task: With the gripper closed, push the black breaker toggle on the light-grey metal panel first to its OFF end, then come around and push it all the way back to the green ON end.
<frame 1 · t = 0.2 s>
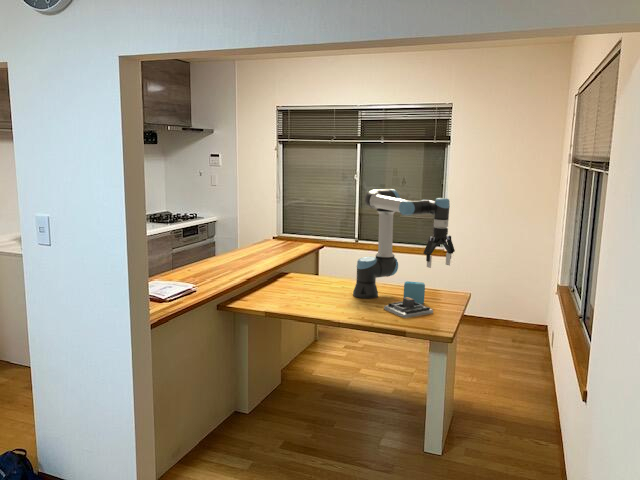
hand: (438, 266, 287), 27 cm above the table, fingers open, 13 cm apart
breaker panel: (408, 311, 296), on the table
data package: (413, 302, 314), on the table
breaker toggle: (408, 302, 296), point 5 cm above the table, slide at 0.0 cm
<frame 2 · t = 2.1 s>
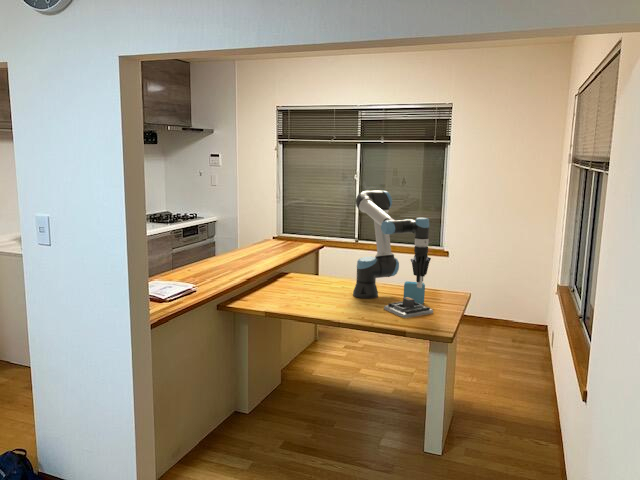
hand: (419, 287, 297), 13 cm above the table, fingers closed
nothing on the table moved.
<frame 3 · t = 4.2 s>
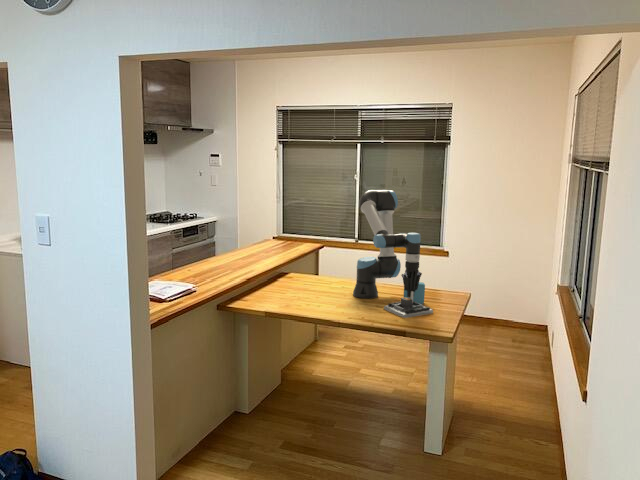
hand: (410, 302, 296), 5 cm above the table, fingers closed
breaker toggle: (406, 303, 295), point 5 cm above the table, slide at -1.5 cm, touching gripper
everything else where it was.
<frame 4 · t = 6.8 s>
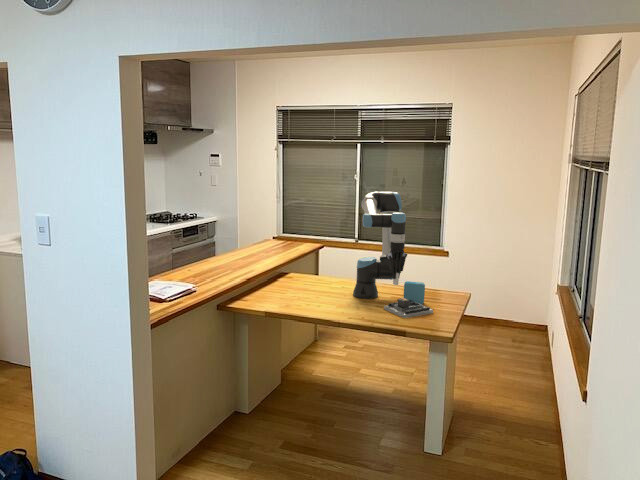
hand: (395, 284, 289), 16 cm above the table, fingers closed
breaker toggle: (403, 303, 294), point 5 cm above the table, slide at -3.7 cm
everything else where it was.
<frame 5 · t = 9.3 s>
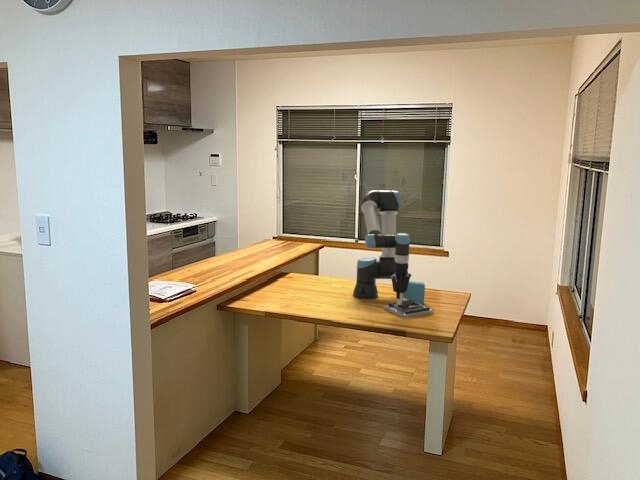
hand: (399, 304, 292), 5 cm above the table, fingers closed
breaker toggle: (403, 303, 294), point 5 cm above the table, slide at -3.6 cm, touching gripper
everything else where it was.
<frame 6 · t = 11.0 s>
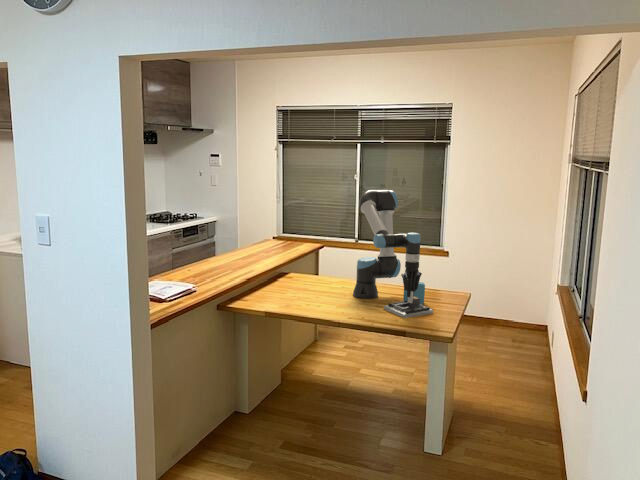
hand: (410, 302, 296), 5 cm above the table, fingers closed
breaker toggle: (413, 301, 297), point 5 cm above the table, slide at 3.8 cm, touching gripper
everything else where it was.
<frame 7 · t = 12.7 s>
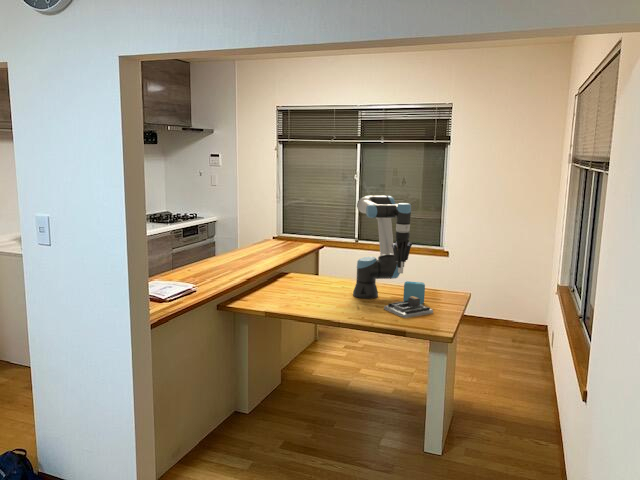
hand: (400, 272, 297), 21 cm above the table, fingers closed
breaker toggle: (414, 301, 298), point 5 cm above the table, slide at 3.9 cm
everything else where it was.
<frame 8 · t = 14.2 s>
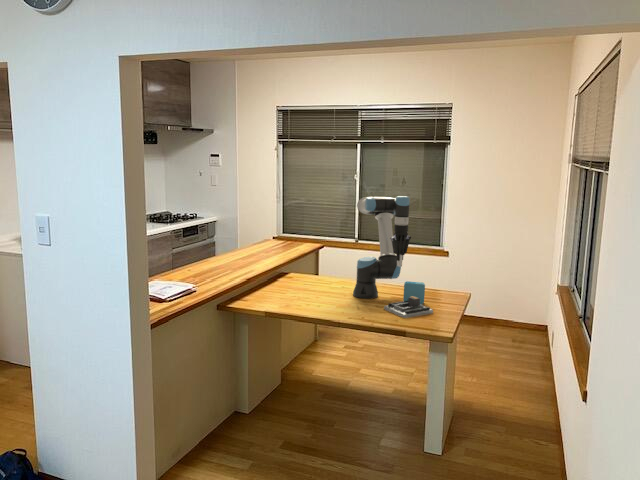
hand: (399, 266, 297), 24 cm above the table, fingers closed
nothing on the table moved.
at the end: breaker toggle slide at 3.9 cm; breaker toggle moved 3.9 cm from its start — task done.
